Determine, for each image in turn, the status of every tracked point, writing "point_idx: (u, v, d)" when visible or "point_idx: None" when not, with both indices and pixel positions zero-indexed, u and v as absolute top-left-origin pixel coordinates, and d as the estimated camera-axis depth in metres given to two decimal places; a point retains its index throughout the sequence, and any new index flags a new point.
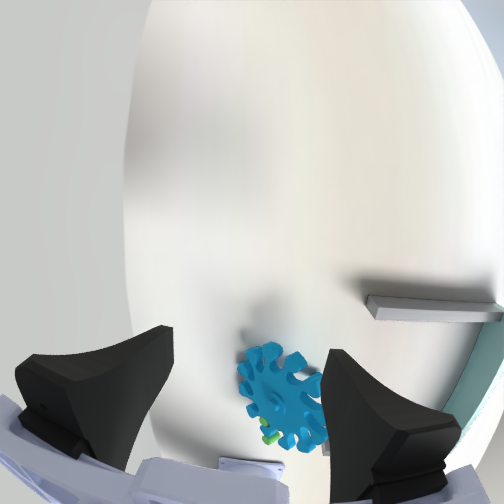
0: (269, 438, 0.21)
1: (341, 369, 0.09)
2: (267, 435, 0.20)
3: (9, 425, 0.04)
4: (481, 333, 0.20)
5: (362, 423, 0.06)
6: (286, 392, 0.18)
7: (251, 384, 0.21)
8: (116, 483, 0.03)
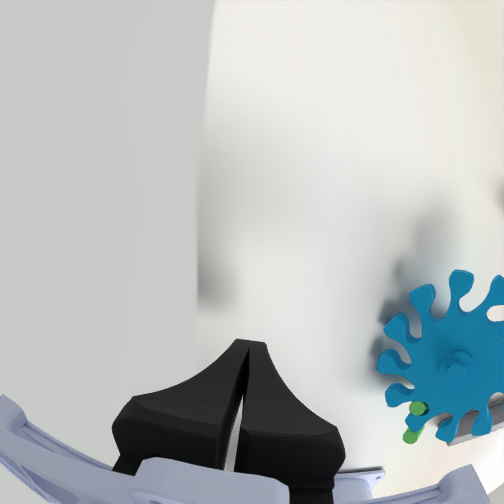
0: (417, 433, 0.11)
1: (248, 361, 0.10)
2: (418, 428, 0.11)
3: (9, 425, 0.04)
4: None
5: None
6: (482, 343, 0.09)
7: (411, 349, 0.12)
8: (116, 483, 0.03)
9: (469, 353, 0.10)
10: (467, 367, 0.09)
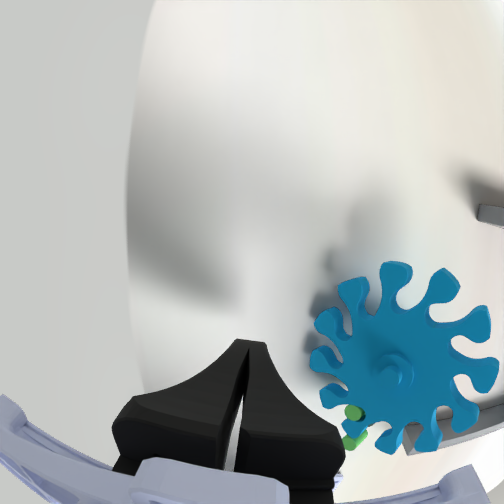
0: (355, 439, 0.12)
1: (248, 362, 0.10)
2: (355, 435, 0.12)
3: (9, 425, 0.04)
4: None
5: None
6: (421, 346, 0.09)
7: (341, 347, 0.12)
8: (116, 483, 0.03)
9: (405, 357, 0.10)
10: (403, 373, 0.10)
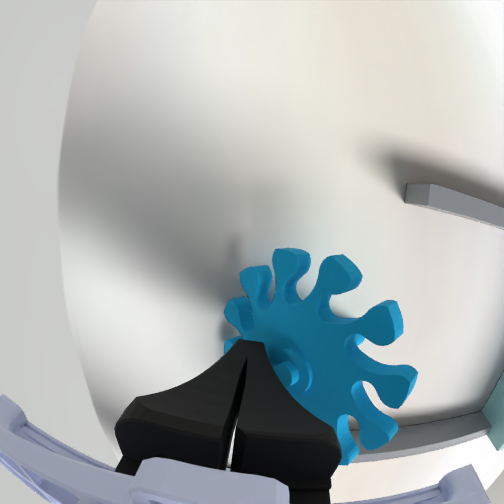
0: None
1: (246, 361, 0.10)
2: None
3: (9, 425, 0.04)
4: None
5: None
6: (316, 343, 0.10)
7: (246, 338, 0.13)
8: (116, 483, 0.03)
9: (301, 353, 0.10)
10: (300, 371, 0.10)
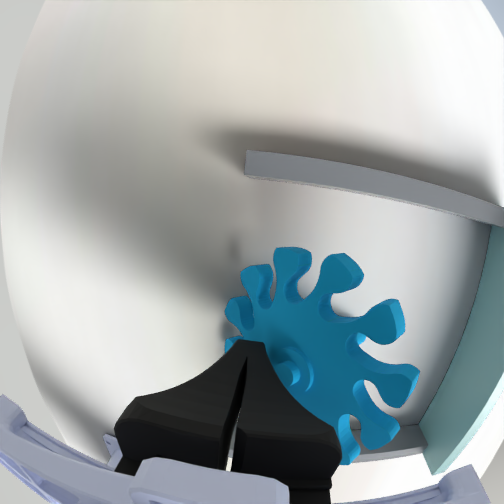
0: None
1: (247, 361, 0.10)
2: None
3: (9, 425, 0.04)
4: (487, 262, 0.12)
5: None
6: (318, 342, 0.10)
7: (247, 337, 0.13)
8: (116, 483, 0.03)
9: (302, 352, 0.10)
10: (301, 370, 0.10)
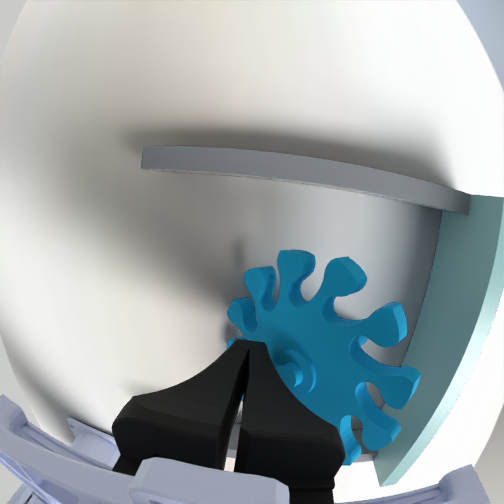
0: None
1: (248, 361, 0.10)
2: None
3: (9, 425, 0.04)
4: (437, 253, 0.13)
5: None
6: (321, 345, 0.10)
7: (249, 339, 0.13)
8: (116, 483, 0.03)
9: (305, 354, 0.10)
10: (304, 372, 0.10)
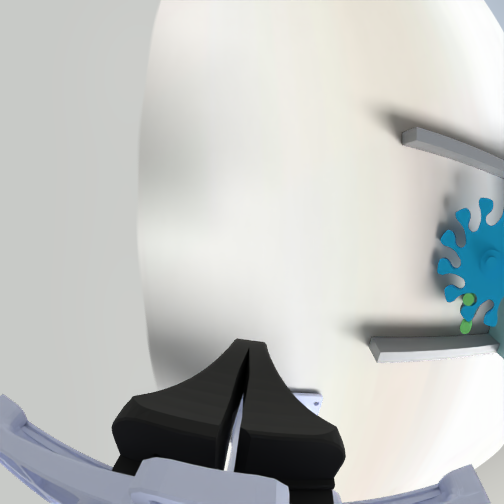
0: (469, 323, 0.16)
1: (248, 361, 0.10)
2: (470, 317, 0.16)
3: (9, 425, 0.04)
4: None
5: None
6: None
7: (460, 252, 0.17)
8: (116, 483, 0.03)
9: (497, 250, 0.14)
10: (498, 260, 0.14)
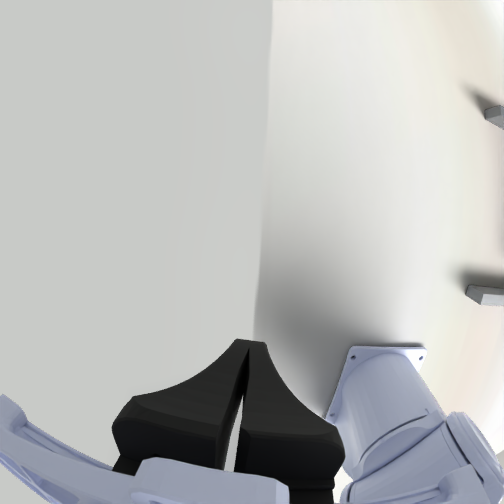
0: None
1: (248, 362, 0.10)
2: None
3: (9, 425, 0.04)
4: None
5: None
6: None
7: None
8: (116, 483, 0.03)
9: None
10: None
